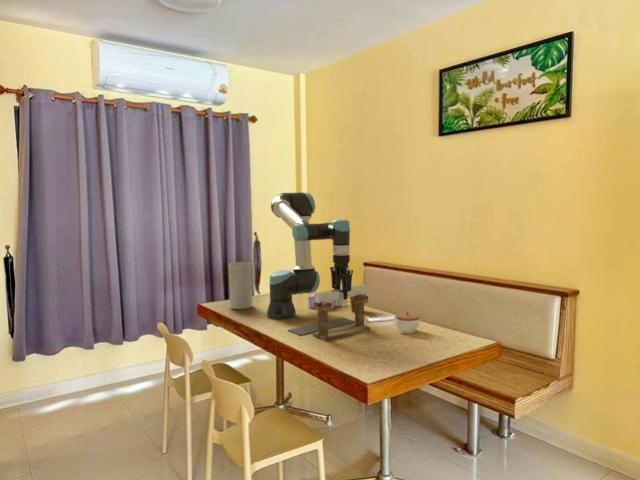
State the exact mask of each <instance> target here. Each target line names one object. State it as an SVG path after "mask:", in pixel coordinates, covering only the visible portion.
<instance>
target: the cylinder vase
mask: <svg viewBox="0 0 640 480" xmlns="http://www.w3.org/2000/svg"><path fill="white" fill-rule="evenodd" d="M252 277H253V276H252V263H251V262H247V261H239V262H238V261H236V262H230V263H228V280H229V281H228V283H229V285H228V286H229V307H230V308H231V309H232V310H246V309H249V308H252V307H253V287H252V285H253V284H252V282H253V281H252Z"/></svg>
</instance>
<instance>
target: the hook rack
mask: <svg viewBox="0 0 640 480" xmlns="http://www.w3.org/2000/svg"><path fill="white" fill-rule="evenodd" d="M351 301H355V313H354V321H355V323H351V324H347V325H343V326H339V327H335V328H331V329H328V321H329V317H328V314H329V312H330V311H332V309H333V308H332V307H331V303H325V304H323V305H322V303H316V302H315V301H314V308H313V309H315V310H316V309H318V311H317V320H318V321H317V323H318V332H314V333H312V337H314V338H316V339H319V340H321V341H324V342H330V341H334V340H337V339H342V338H346V337H350V336H352V335H356V334H360V333H364V332H369V331H371V327H370V326H368V325H365V304H368V303H369V295H365V296H360V298H359V295H358V296H353V297H351ZM351 301H350V302H351Z"/></svg>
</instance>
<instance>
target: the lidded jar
mask: <svg viewBox="0 0 640 480" xmlns="http://www.w3.org/2000/svg"><path fill="white" fill-rule="evenodd" d="M419 324H420V315H419V314H418V313H414V312H409V311H406V312H398V313H396V314H395V325H396V327H397V329H398V330H399V331H400V333H402V334H403V335H407V334H408V335H411V334H414V333H415V332H416V331H417V329H418V327H419Z"/></svg>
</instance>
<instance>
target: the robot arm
mask: <svg viewBox="0 0 640 480" xmlns="http://www.w3.org/2000/svg"><path fill="white" fill-rule="evenodd" d="M270 203H271V204H270V209H271V212H272V213H273V215H275V216H276V218H279V219H281V220H282V221H283V222H284V223H285V224H286V225H287V226H288V227H289V228H290V229H291V230H292V237H293V243H294V256H295V257H294V259H295V267H293V269H292V270H293V272H292V270H290V269H285V270H277V271H275V272H272V273H271V274H270V275H269V304H268V308H267V311H266V317H267V318H269V319H275V320H286V319H292V318H294V317H296V315H297V311H296V308H295V305H294V302H293V295H302V294H303V295H304V294H312V293H316V292H317V290H318V289H319V287H320V281H321V278H320V274H319V271H317V270H316V268H315V266H314V265H313V263H312V250H311V249H312V247H311V241H318V240H319V241H321V240H324V241H325V240H332V262H333V266H330V267H329V269H330V274H331V276H330V277H331V288H332V289H333V290H335V289H340V288H342V290H343V291H341V299H338V300H336V305H341V308H344V307H347V306H348V298H349V297H348V292H349V291H351V286H352V279H353V273H354V270H353V269H350V267H349V263H350V261H351V259H350V256H351V255H350V252H351V251H350V247H351V245H350V241H351V239H350V238H351V234H350V233H351V228H350V221H349V220H348V219H334V220H333V221H332V222H323V223H310V220H311V219H312V215H313V214H314V213H315V212H316V211H315V209H316V203H315V200H314V197H313V196H312V194H311V193H309V192H303V191H302V192H281V193H279V194H277V195H275V196H274V198H272V200H271V202H270Z"/></svg>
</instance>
